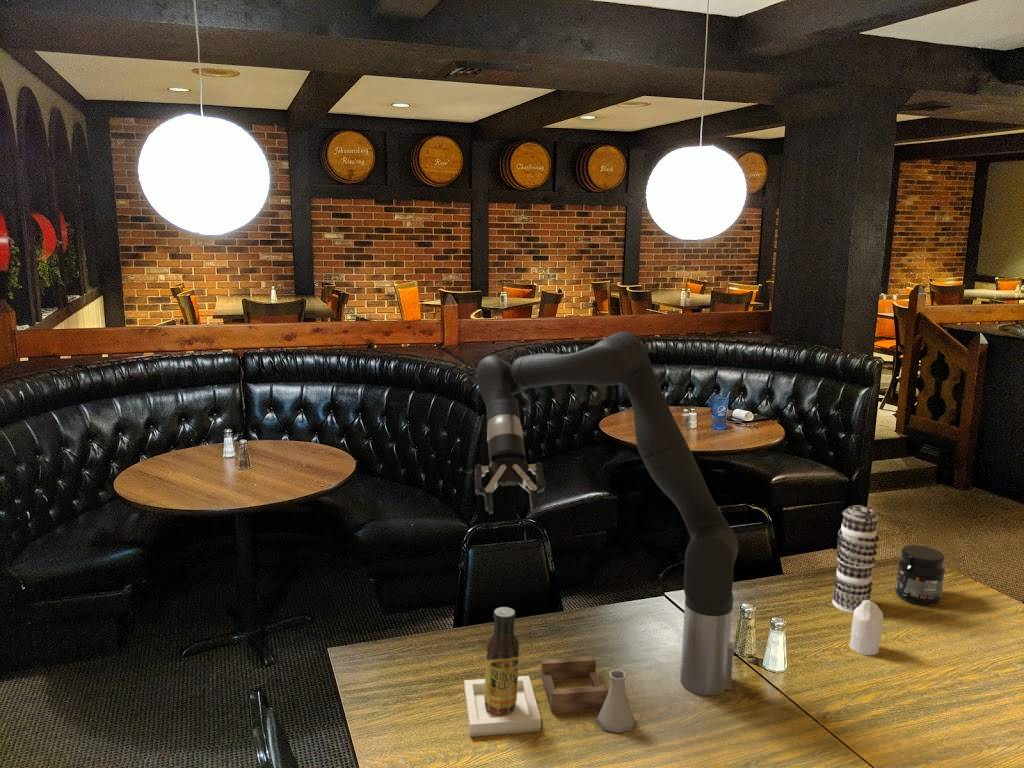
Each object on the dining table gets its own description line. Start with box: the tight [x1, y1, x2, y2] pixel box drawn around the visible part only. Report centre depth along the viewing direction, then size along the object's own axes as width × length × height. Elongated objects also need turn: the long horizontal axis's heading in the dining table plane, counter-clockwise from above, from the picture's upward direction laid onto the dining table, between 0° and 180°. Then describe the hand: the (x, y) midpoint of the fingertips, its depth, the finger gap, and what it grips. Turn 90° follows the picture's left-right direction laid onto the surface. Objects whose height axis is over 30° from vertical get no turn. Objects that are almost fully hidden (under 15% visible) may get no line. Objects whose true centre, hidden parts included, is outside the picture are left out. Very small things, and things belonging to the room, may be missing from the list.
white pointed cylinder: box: [849, 599, 884, 656], centre depth 173 cm, size 6×12×6 cm
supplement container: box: [894, 544, 946, 607], centre depth 197 cm, size 10×10×12 cm
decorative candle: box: [832, 504, 880, 615], centre depth 191 cm, size 9×9×25 cm
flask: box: [596, 669, 636, 734], centre depth 148 cm, size 7×7×10 cm
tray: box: [463, 675, 542, 738], centre depth 152 cm, size 13×14×2 cm
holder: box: [540, 655, 609, 714], centre depth 157 cm, size 11×12×4 cm
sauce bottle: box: [484, 606, 520, 715], centre depth 150 cm, size 6×6×20 cm
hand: (512, 511), depth 159 cm, fingers open, 8 cm apart
